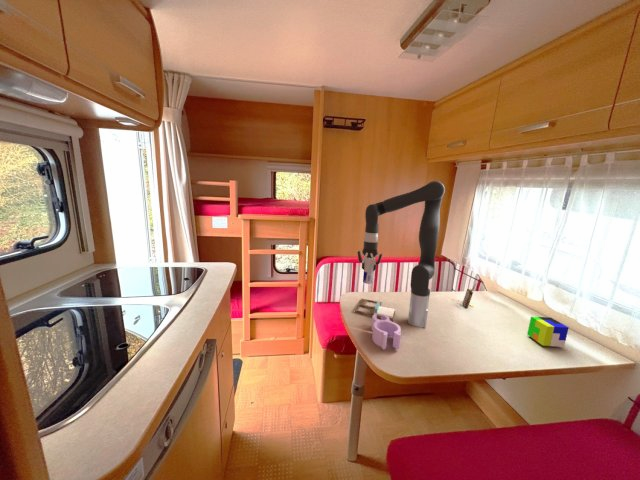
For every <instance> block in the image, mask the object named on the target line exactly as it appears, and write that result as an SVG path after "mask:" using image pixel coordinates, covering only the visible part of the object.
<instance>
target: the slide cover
mask: <svg viewBox="0 0 640 480" xmlns="http://www.w3.org/2000/svg"><path fill="white" fill-rule="evenodd" d="M380 302H381V301H378V302H377V304H376V303H375V306H374V307H375V310H374V314H376V315H380V316H381V315H382V314H384V315H386V316H388V317H389V318H393V314H394V311H396V310H395V308H390V307H386V306H382V305H381V306H380Z"/></svg>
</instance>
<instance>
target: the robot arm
mask: <svg viewBox="0 0 640 480" xmlns="http://www.w3.org/2000/svg"><path fill="white" fill-rule="evenodd" d="M445 192H446V187H445V186H444V184H443V183H442V182H440V181H439V180H433V181H429V183H427V184H425V185H423V186H421V187H419V188H417V189H415V190H412V191H409V192H406V193H403V194H402V193H401V194H399V195H395V196H393V197H392V196H391V197H390V198H387V199H383V201H379V202H376V203H372V204H369V205H367V206H366V209H365V215H364V217H365V229H364V237H363V249H362V250H358V251H357V258H358V262H360V263H361V269H362V270H363V271H364V263H365V259H366V257H367V258H368V257H369V258H373V261H374V268H373V271H374V272H375V271H376V270H377V265H380V262H381V260H382V258H383V253H380V252H379V251H378V244H379V243H378V242H379V228H380V227H379V223H378V221H379V216H383V215H384V214H387V213H392V212H396V211H399V210H402V209H404V208H406V207H409V206H411V205H414V204H418V203H421V202H424V209H423V213H422V216H421V220H420V225H419V231H418V243H419V247H420V258H419V263H418V264H417V265H415V266H414V267H412V270H411V274H410V288H411V289H410V291H411V292H410V298H409V306H408V307H409V308H408V315H407V323H408V324H409V325H411V326H412V327H417V328H426V326H427V321H428V320H427V319H428V314H429V313H428V312H429V310H428V309H429V302H430V296H431V295H430V294H431V289H430V288H429V285H430V280H431V279H432V278H433V277H434V275H435V269H436V268H435V266H436V265H435V264H436V252H437V247H438V239H439V235H440V225H441V223H440V222H441V216H440V214H441V213H440V212H441V206H442V201H443V197H444V194H445ZM362 254H363V258H362ZM374 257H375V259H374ZM376 257H378V259H377V260H376Z"/></svg>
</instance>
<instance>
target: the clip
mask: <svg viewBox="0 0 640 480" xmlns="http://www.w3.org/2000/svg"><path fill="white" fill-rule="evenodd" d="M371 317H372V316H371ZM371 319H372V320H371V331H372V337H371V338H372V341H373V343H375V345H378V346H380V347H381V349H382V350H386V348H387V345H388V343H387V340H388V336H389V337H391V338H393V340H392V347H393V348H394V349H396V350H400V348H401V347H400V345H401V338H402V337H401V336H402V334H401V332H402V331H401V330H402V329H401V328H402V327H401V326H400V325H399V324H398V323H396V322H394V321H390V319H389V317H388V316H386V315H384V314H382V315H381V318H377V315H376V314H374V315H373V317H372V318H371Z"/></svg>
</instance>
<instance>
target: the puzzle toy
mask: <svg viewBox="0 0 640 480" xmlns="http://www.w3.org/2000/svg"><path fill="white" fill-rule="evenodd" d="M528 325H529V326H528V329H527V333H526V334H527V336H529V337H530V338H532V339H533V340H534V341H536V342H537V343H538V344H539V345H541V346H544V347H559V348H564V347H565V345H566V340H567V335H568V333H569V326H567V325H565V324H563V323H561V322H560V321H558V320H556V319H554V318H553V317H549V316H548V317H546V316H530V319H529V324H528Z"/></svg>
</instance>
